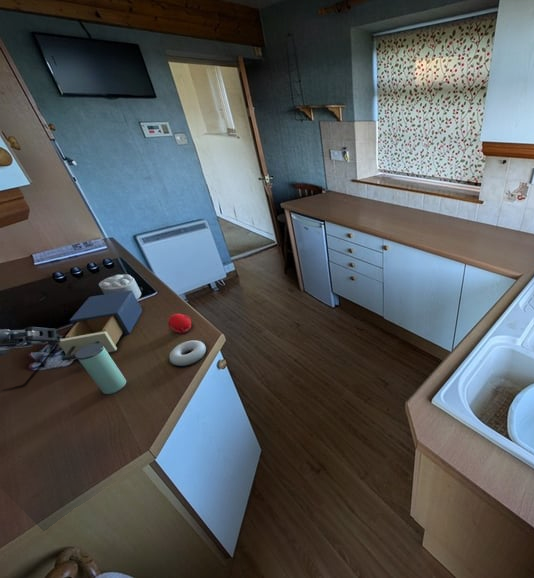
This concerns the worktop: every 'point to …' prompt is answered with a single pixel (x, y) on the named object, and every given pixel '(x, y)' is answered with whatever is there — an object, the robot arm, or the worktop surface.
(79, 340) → the drawer
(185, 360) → the donut
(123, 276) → the lumpy-topped squat cylinder
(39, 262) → the worktop surface
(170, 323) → the red rounded lump
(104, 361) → the tin
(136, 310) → the cabinet
